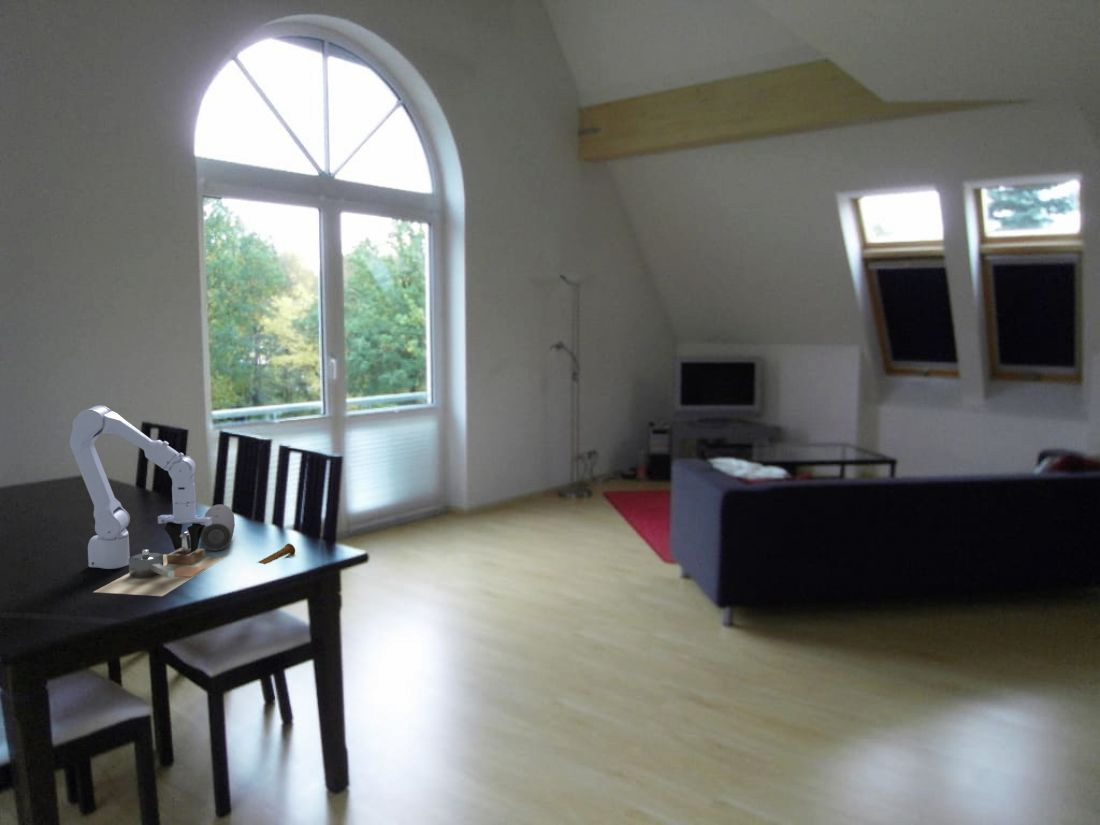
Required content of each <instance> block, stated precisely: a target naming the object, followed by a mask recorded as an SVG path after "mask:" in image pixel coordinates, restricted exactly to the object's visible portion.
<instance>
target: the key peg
mask: <svg viewBox="0 0 1100 825" xmlns="http://www.w3.org/2000/svg"><path fill="white" fill-rule="evenodd" d="M180 537H181V553H182V554H190V553H191V543H190V535H189V532H188V530H186V531H185V532H181V535H180Z"/></svg>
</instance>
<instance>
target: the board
mask: <svg viewBox="0 0 1100 825" xmlns="http://www.w3.org/2000/svg"><path fill="white" fill-rule="evenodd" d="M162 555H163V566H165V567H168V568H170V569H172V570H175V569H177V568H178V567H180V566H186V567H204V568H205V569H204V570H202V571H201V572H199V573H197V574H196V575H194V576H192V577H175V576H174V577H170V578H167V577H165V576H163V575H160V574H158V575H155V576H150V577H141V578H138V577H132V576H130V575H129V572H128V573H126V574H124V575H122V576H121V577H119V578H117V579H115V580H113V581H111V582H110V583H107V584H106V585H103V586H102V587H100V588H98V589H96V590H94V591H93V593H100V594H116V595H117V594H120V595H133V596H134V595H135V596H147V597H148V596H151V597H164V596H165V595H167V594H169V593H170V592H172V591H173V590H175V589H176V588H177V589H178V588H179V587H180V586H181V585H184V584H185V583H186V582H188V581H190V580H191V579H192V578H195V577H196V576H198V575H200V574H201V573H203V572H204V571H206V570H208V569H209V568H211V567H213V566H214V565H216V564H218V563H219V562H221V561H223V560H224V559H225V557H218V556H205V558H203V559H202V560H200V561H198V562H196V563H195V564H193V565H177V564H167V555H168V554H165V553H164V554H162Z"/></svg>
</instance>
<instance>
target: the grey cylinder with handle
mask: <svg viewBox="0 0 1100 825" xmlns="http://www.w3.org/2000/svg"><path fill="white" fill-rule="evenodd" d="M163 555H164V554H162V553H159V552H158V553H157V552H150V549H147V548H146V549H141V553H139V554H135V555H133V556H130V558H129V565H128V573H129V575H130V576H132V577H138V578H141V577H150V576H155V575H158V574H160V575H163V576H165V577H167V578H170V577H174V570H172V569H170V568H168V567H165V566H163Z"/></svg>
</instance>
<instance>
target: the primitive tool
mask: <svg viewBox="0 0 1100 825" xmlns="http://www.w3.org/2000/svg"><path fill="white" fill-rule="evenodd" d="M295 553H296V548H295V546H294V544H292V543H287V544H285V545H284V546H283V547H282V548H281V549H280V550H277V551H276V552H274V553H272V554H270V555H269V556H266V557H264V558H262V559H261V560H258V562H257V564H263V565H267V564H270V563H272V562H273V561H275V560H278V559H279V558H281V557H284V556H286V555H288V556H289V555H290V554H292V555H295Z"/></svg>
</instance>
